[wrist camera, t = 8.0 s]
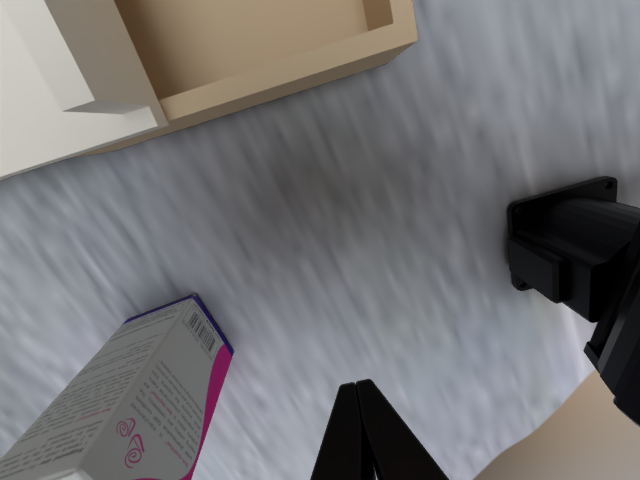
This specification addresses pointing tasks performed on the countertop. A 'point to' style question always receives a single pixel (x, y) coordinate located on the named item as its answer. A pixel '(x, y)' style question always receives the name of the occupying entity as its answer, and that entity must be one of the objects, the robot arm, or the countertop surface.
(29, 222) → the countertop surface
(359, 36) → the base
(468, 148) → the countertop surface
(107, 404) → the supplement box
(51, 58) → the lid
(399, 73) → the countertop surface
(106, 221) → the countertop surface
